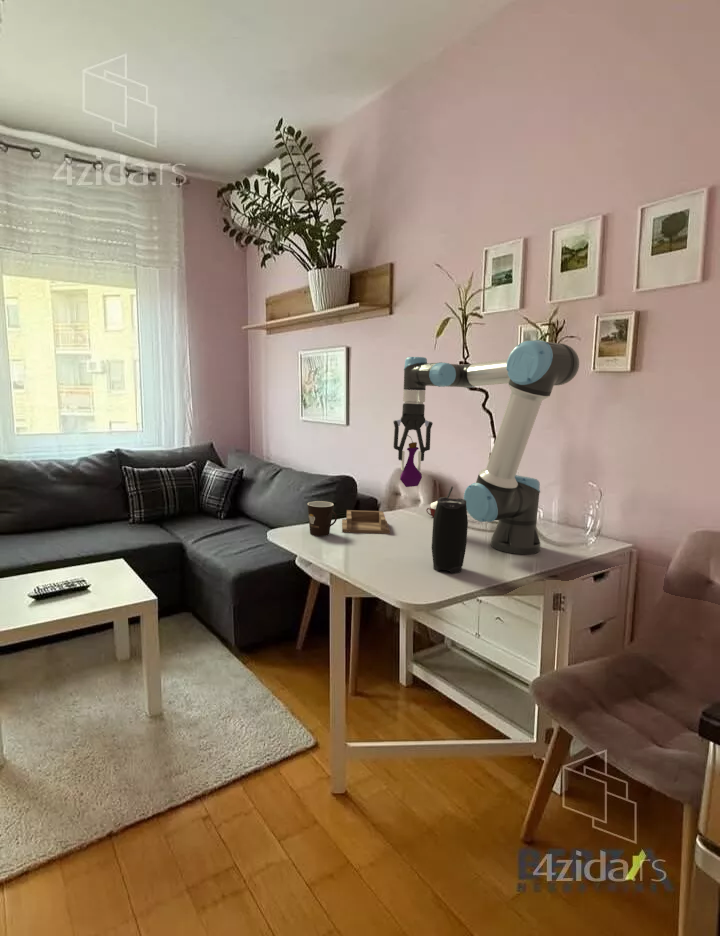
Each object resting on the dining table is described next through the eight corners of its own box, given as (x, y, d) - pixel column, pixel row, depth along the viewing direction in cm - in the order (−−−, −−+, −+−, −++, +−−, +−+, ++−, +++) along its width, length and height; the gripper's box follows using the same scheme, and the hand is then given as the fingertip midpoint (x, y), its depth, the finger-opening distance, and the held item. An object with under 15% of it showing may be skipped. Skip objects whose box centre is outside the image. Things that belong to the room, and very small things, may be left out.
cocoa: (425, 518, 215) (425, 487, 213) (429, 514, 221) (429, 484, 219) (449, 520, 212) (450, 489, 210) (453, 516, 217) (454, 486, 215)
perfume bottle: (422, 482, 201) (417, 432, 198) (422, 486, 194) (418, 434, 191) (401, 484, 202) (396, 434, 199) (400, 488, 194) (396, 436, 192)
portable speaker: (425, 565, 158) (429, 497, 155) (455, 563, 161) (459, 496, 158) (439, 575, 150) (443, 503, 147) (470, 573, 153) (475, 502, 150)
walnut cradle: (389, 533, 190) (390, 520, 189) (342, 532, 189) (342, 519, 189) (386, 523, 204) (387, 511, 203) (342, 521, 203) (342, 509, 202)
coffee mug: (304, 530, 189) (304, 501, 188) (328, 529, 192) (329, 500, 190) (312, 540, 178) (312, 509, 177) (338, 539, 181) (339, 508, 179)
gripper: (438, 403, 197) (434, 469, 201) (386, 401, 197) (383, 467, 200) (441, 404, 190) (438, 472, 193) (388, 402, 189) (385, 470, 193)
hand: (410, 469), depth 197 cm, fingers closed on perfume bottle, 5 cm apart
